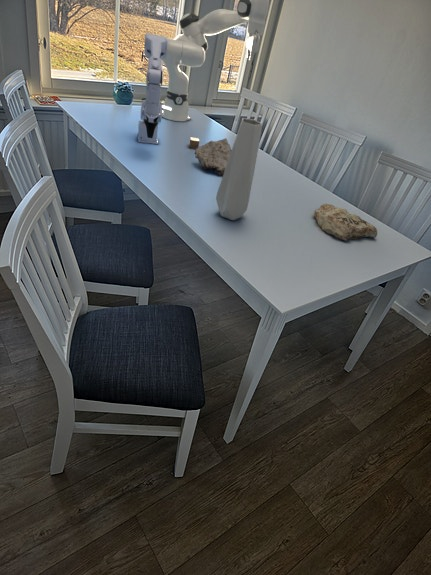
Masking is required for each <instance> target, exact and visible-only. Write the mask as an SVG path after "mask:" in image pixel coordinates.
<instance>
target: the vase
mask: <svg viewBox="0 0 431 575" xmlns="http://www.w3.org/2000/svg"><path fill="white" fill-rule="evenodd" d="M262 128H263V123H261V122H260V121H259V120H256V119H252V118H246V117H243V118H241V122H240V124H239V127H238V130H237V133H236V136H235V140H234V142H233V145H232V147H231V150H232V151H231V154H230V157H229V160H228V162H227V165H226V168H225V171H224V174H223V175H222V178H221V180H220V183H219V186H218V189H217V192H216V195H215V200H216V204H217V208H218V211H219V215H220V216H221V217H222V218H224V219H228V220H230V221H236V220H238V219H240V218H242V217H243V216H244V214H245V213H246V212H247V211H248V206H249V202H250V195H251V191H252V185H253V180H254V175H255V169H256V164H257V158H258V152H259V146H260V140H261V135H262V130H263V129H262Z"/></svg>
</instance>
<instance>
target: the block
mask: <svg viewBox="0 0 431 575" xmlns="http://www.w3.org/2000/svg"><path fill="white" fill-rule="evenodd" d="M188 144H189V145H188V146H189V147H188V148H189V149H193V150H196V148H198V147H200V146H199V145H200V138H198V137H192V136H191V137H189V143H188Z"/></svg>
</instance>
